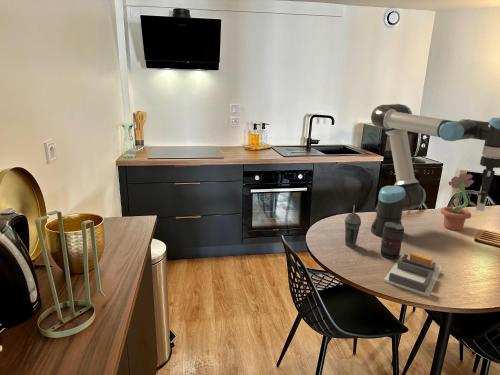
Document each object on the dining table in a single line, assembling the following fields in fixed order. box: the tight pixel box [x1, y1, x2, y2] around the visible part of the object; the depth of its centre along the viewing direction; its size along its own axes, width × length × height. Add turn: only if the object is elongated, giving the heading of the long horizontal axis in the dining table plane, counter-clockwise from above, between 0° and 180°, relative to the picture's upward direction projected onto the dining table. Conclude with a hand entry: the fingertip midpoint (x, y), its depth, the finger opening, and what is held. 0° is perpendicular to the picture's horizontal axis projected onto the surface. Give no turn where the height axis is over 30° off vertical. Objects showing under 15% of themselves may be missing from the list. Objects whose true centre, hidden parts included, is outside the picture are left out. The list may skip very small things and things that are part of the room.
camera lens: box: [380, 222, 405, 260], centre depth 148 cm, size 8×8×15 cm
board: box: [383, 254, 443, 298], centre depth 136 cm, size 16×24×4 cm, turn 143°
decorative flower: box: [440, 173, 477, 231], centre depth 178 cm, size 15×14×30 cm
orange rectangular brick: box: [409, 251, 434, 266], centre depth 144 cm, size 8×3×3 cm, turn 53°
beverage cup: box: [344, 204, 362, 248], centre depth 158 cm, size 7×7×20 cm
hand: (480, 205), depth 147 cm, fingers open, 13 cm apart
